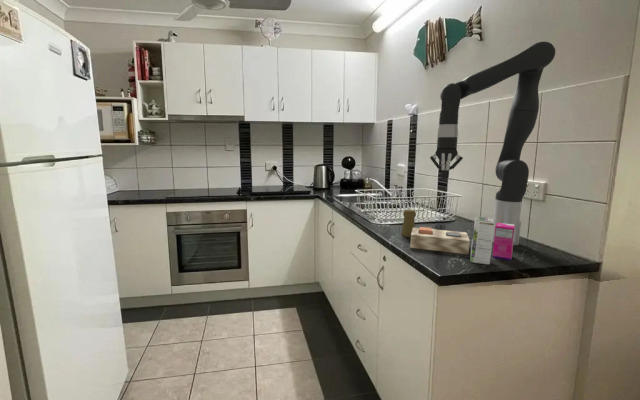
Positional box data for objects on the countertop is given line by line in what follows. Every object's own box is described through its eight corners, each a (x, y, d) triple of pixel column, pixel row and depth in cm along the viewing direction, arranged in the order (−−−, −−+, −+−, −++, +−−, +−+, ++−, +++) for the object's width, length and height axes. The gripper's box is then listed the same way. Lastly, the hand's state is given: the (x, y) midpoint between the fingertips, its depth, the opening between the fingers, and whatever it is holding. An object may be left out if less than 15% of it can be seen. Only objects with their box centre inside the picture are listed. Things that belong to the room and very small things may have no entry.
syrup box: (469, 257, 114) (473, 216, 111) (488, 259, 112) (493, 217, 109) (470, 262, 109) (475, 219, 106) (490, 265, 106) (495, 221, 104)
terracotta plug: (430, 240, 128) (431, 228, 127) (430, 243, 124) (431, 230, 123) (419, 239, 130) (420, 226, 129) (418, 242, 125) (419, 229, 125)
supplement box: (493, 252, 119) (497, 222, 117) (512, 256, 116) (516, 224, 114) (491, 257, 114) (495, 225, 112) (511, 260, 111) (515, 227, 109)
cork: (404, 232, 145) (406, 207, 143) (417, 235, 141) (419, 209, 139) (398, 235, 140) (400, 209, 138) (411, 237, 136) (413, 211, 134)
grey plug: (458, 245, 125) (459, 233, 124) (459, 249, 121) (460, 236, 120) (445, 244, 127) (447, 231, 126) (446, 247, 122) (447, 234, 122)
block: (465, 244, 128) (466, 232, 127) (468, 254, 117) (469, 240, 116) (412, 239, 134) (412, 227, 133) (410, 247, 123) (411, 234, 122)
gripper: (464, 136, 134) (461, 179, 137) (430, 136, 138) (427, 178, 141) (466, 136, 127) (462, 180, 130) (430, 136, 131) (427, 179, 134)
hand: (444, 179), depth 135 cm, fingers closed
